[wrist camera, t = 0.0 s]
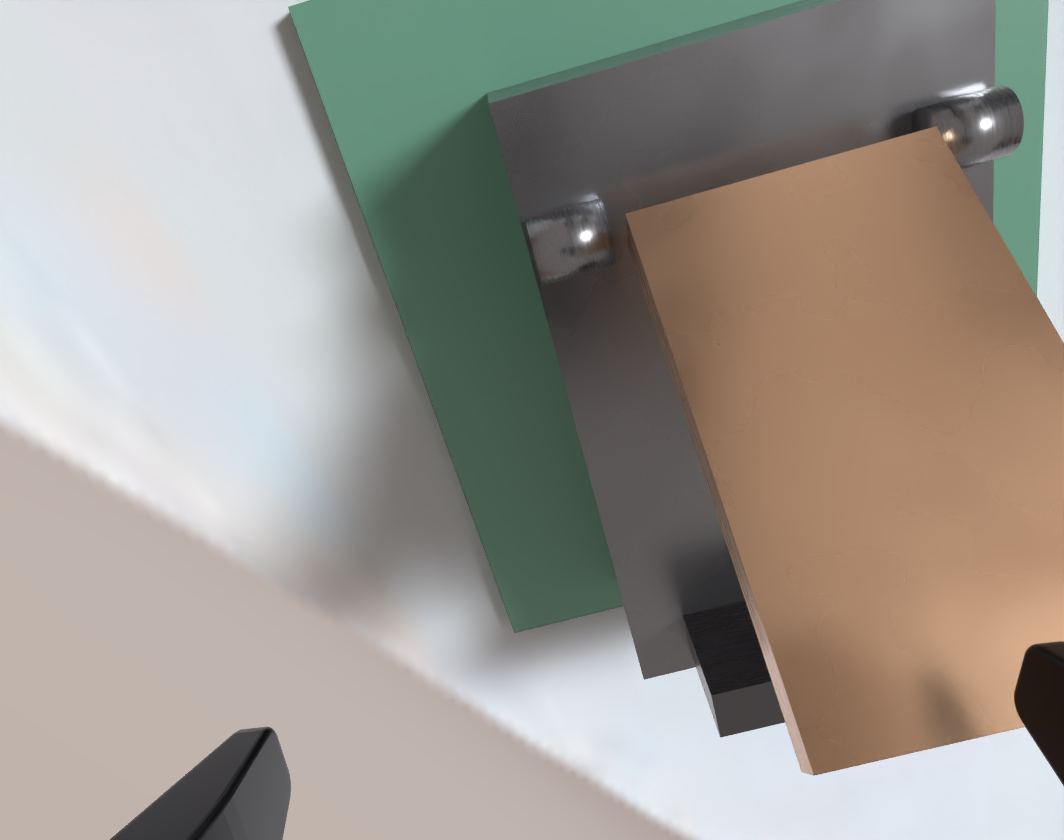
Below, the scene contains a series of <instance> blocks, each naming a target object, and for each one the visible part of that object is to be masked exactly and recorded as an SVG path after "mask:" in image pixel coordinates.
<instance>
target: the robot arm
mask: <svg viewBox="0 0 1064 840" xmlns="http://www.w3.org/2000/svg"><path fill="white" fill-rule="evenodd" d="M1014 703H1015V707H1016V711H1017V713H1018V715H1019V717H1020V719H1021V721H1022V723H1023V724H1024V726H1025V727H1026V729H1027V730H1028V732H1029V733H1030V735H1031V736H1032V738H1033V739H1034V741H1035V743H1036V744H1037V746H1038V747H1039V749H1040V750H1041V752H1042V753H1043V755H1044V756H1045V758H1046V759H1047V761H1048V762H1049V764H1050V766H1051V767H1052V769H1053V770H1054V772H1055V773H1056V775H1057V776H1058V778H1059V779H1060V781H1061V782H1062V784H1063V786H1064V642H1063V641H1058V642H1049V643H1039V644H1034V645H1031V646H1030V647H1029V648H1028V649H1027V650H1026V652H1025V654H1024V658H1023V662H1022V665H1021V669H1020V673H1019V676H1018V680H1017V684H1016V687H1015V691H1014ZM290 792H291V781H290V774H289V770H288V767H287V764H286V761H285V758H284V755H283V752H282V749H281V746H280V743H279V740H278V737H277V735H276V733H275V731H274V730H273V729H272V728H270V727H261V728H252V729H243V730H239V731H237V732H236V733H235V734H233V735H232V736H230V737H229V738H228V739H227V740H226V741H225V742H223V743H222V744H221V745H220V746H219V747H218V748H216V749H215V750H214V751H213V752H212V753H211V754H209V755H208V756H207V757H206V758H205V759H204V760H202V761H201V762H200V763H199V764H198V765H197V766H195V767H194V768H193V769H192V770H191V771H190V772H188V773H187V774H186V775H185V776H184V777H183V778H181V779H180V780H179V781H178V782H177V783H176V784H174V785H173V786H172V787H171V788H170V789H169V790H168V791H166V792H165V793H164V794H163V795H161V796H160V797H159V798H158V799H157V800H156V801H155V802H153V803H152V804H151V805H150V806H149V807H148V808H146V809H145V810H144V811H143V812H142V813H141V814H139V815H138V816H137V817H136V818H135V819H133V820H132V821H131V822H130V823H129V824H128V825H126V826H125V827H124V828H123V829H122V830H120V831H119V832H118V833H117V834H116V835H115V836H113V837H112V838H111V839H110V840H282V838H283V833H284V828H285V822H286V817H287V811H288V806H289V801H290Z"/></svg>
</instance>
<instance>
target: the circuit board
mask: <svg viewBox="0 0 1064 840" xmlns="http://www.w3.org/2000/svg"><path fill="white" fill-rule="evenodd" d="M797 1H801V0H310V1H306V2H303V3H300V4H296V5H293V6H290V7H288V8H289V11H290V14H291V16H292V19H293V22H294V25H295V28H296V30H297V33H298V36H299V39H300V41H301V44H302V47H303V50H304V52H305V55H306V58H307V61H308V63H309V66H310V69H311V72H312V74H313V77H314V80H315V83H316V86H317V88H318V91H319V94H320V97H321V99H322V102H323V105H324V108H325V110H326V113H327V116H328V119H329V121H330V124H331V127H332V130H333V132H334V135H335V138H336V141H337V144H338V146H339V149H340V152H341V155H342V157H343V160H344V163H345V166H346V168H347V171H348V174H349V177H350V179H351V182H352V185H353V188H354V190H355V193H356V196H357V199H358V202H359V204H360V207H361V210H362V213H363V215H364V218H365V221H366V224H367V226H368V229H369V232H370V235H371V237H372V240H373V243H374V246H375V248H376V251H377V254H378V257H379V260H380V262H381V265H382V268H383V271H384V273H385V276H386V279H387V282H388V284H389V287H390V290H391V293H392V295H393V298H394V301H395V304H396V306H397V309H398V312H399V315H400V318H401V320H402V323H403V326H404V329H405V331H406V334H407V337H408V340H409V342H410V345H411V348H412V351H413V353H414V356H415V359H416V362H417V364H418V367H419V370H420V373H421V376H422V378H423V381H424V384H425V387H426V389H427V392H428V395H429V398H430V400H431V403H432V406H433V409H434V411H435V414H436V417H437V420H438V422H439V425H440V428H441V431H442V434H443V436H444V439H445V442H446V445H447V447H448V450H449V453H450V456H451V458H452V461H453V464H454V467H455V469H456V472H457V475H458V478H459V481H460V483H461V486H462V489H463V492H464V494H465V497H466V500H467V503H468V505H469V508H470V511H471V514H472V516H473V519H474V522H475V525H476V527H477V530H478V533H479V536H480V539H481V541H482V544H483V547H484V550H485V552H486V555H487V558H488V561H489V563H490V566H491V569H492V572H493V574H494V577H495V580H496V583H497V585H498V588H499V591H500V594H501V597H502V599H503V602H504V605H505V608H506V610H507V613H508V616H509V619H510V621H511V624H512V627H513V630H514V632H515V633H517V632H521V631H525V630H529V629H533V628H537V627H541V626H545V625H549V624H553V623H557V622H561V621H565V620H569V619H573V618H577V617H581V616H585V615H589V614H593V613H597V612H601V611H605V610H609V609H613V608H617V607H621V606H624V604H623V600H622V596H621V592H620V589H619V585H618V581H617V578H616V574H615V570H614V566H613V563H612V559H611V555H610V552H609V548H608V544H607V541H606V537H605V533H604V529H603V526H602V522H601V518H600V515H599V511H598V507H597V503H596V500H595V496H594V492H593V489H592V485H591V481H590V478H589V474H588V470H587V466H586V463H585V459H584V455H583V452H582V448H581V444H580V441H579V437H578V433H577V429H576V426H575V422H574V418H573V415H572V411H571V407H570V403H569V400H568V396H567V392H566V389H565V385H564V381H563V378H562V374H561V370H560V366H559V363H558V359H557V355H556V352H555V348H554V344H553V340H552V337H551V333H550V329H549V326H548V322H547V318H546V315H545V311H544V307H543V303H542V300H541V296H540V292H539V289H538V285H537V281H536V277H535V274H534V270H533V266H532V263H531V259H530V255H529V252H528V248H527V244H526V240H525V237H524V233H523V229H522V226H521V222H520V218H519V214H518V211H517V207H516V203H515V200H514V196H513V192H512V189H511V185H510V181H509V177H508V174H507V170H506V166H505V163H504V159H503V155H502V151H501V148H500V144H499V140H498V137H497V133H496V129H495V126H494V122H493V118H492V114H491V111H490V107H489V103H488V95H487V93H489V92H492V91H495V90H499V89H502V88H506V87H509V86H512V85H516V84H519V83H523V82H526V81H529V80H533V79H536V78H540V77H543V76H546V75H550V74H553V73H557V72H560V71H563V70H567V69H570V68H573V67H577V66H580V65H584V64H587V63H590V62H594V61H597V60H601V59H604V58H607V57H611V56H614V55H618V54H621V53H624V52H628V51H631V50H635V49H638V48H641V47H645V46H648V45H652V44H655V43H658V42H662V41H665V40H669V39H672V38H675V37H679V36H682V35H685V34H689V33H692V32H696V31H699V30H702V29H706V28H709V27H713V26H716V25H719V24H723V23H726V22H730V21H733V20H736V19H740V18H743V17H747V16H750V15H753V14H757V13H760V12H764V11H767V10H770V9H774V8H777V7H780V6H784V5H787V4H791V3H794V2H797ZM1047 24H1048V0H996V28H995V86H999V85H1004V86H1007V87H1009V88H1010V89H1012V90H1013V91H1014V93H1015V94H1016V95H1017V97H1018V99H1019V101H1020V103H1021V106H1022V110H1023V116H1024V130H1023V136H1022V139H1021V142H1020V144H1019V147H1018V148H1017V150H1016V151H1015V152H1014V153H1013V154H1012V155H1010V156H1008V157H1004V158H1001V159H997V160H994V196H993V224H994V225H995V227H996V229H997V230H998V232H999V234H1000V235H1001V237H1002V239H1003V241H1004V242H1005V244H1006V246H1007V247H1008V249H1009V251H1010V253H1011V254H1012V256H1013V258H1014V259H1015V261H1016V263H1017V264H1018V266H1019V268H1020V270H1021V271H1022V273H1023V275H1024V276H1025V278H1026V280H1027V281H1028V283H1029V285H1030V287H1031V288H1032V290H1033V292H1034V293H1035V295H1036V297H1037V276H1038V251H1039V226H1040V201H1041V175H1042V150H1043V125H1044V100H1045V74H1046V49H1047Z"/></svg>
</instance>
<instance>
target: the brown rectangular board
mask: <svg viewBox="0 0 1064 840" xmlns="http://www.w3.org/2000/svg"><path fill="white" fill-rule="evenodd" d="M625 215H626V229H627V243H628V247H629V250H630V253H631V256H632V259H633V262H634V265H635V268H636V271H637V274H638V277H639V280H640V283H641V286H642V289H643V292H644V296H645V299H646V302H647V305H648V308H649V311H650V314H651V317H652V320H653V323H654V326H655V329H656V332H657V335H658V338H659V341H660V344H661V347H662V350H663V353H664V356H665V359H666V362H667V365H668V368H669V371H670V374H671V377H672V380H673V383H674V386H675V389H676V392H677V395H678V399H679V402H680V405H681V408H682V411H683V414H684V417H685V420H686V423H687V426H688V429H689V432H690V435H691V438H692V441H693V444H694V447H695V450H696V453H697V456H698V459H699V462H700V465H701V468H702V471H703V474H704V477H705V480H706V483H707V486H708V489H709V492H710V495H711V498H712V502H713V505H714V508H715V511H716V514H717V517H718V520H719V523H720V526H721V529H722V532H723V535H724V538H725V541H726V544H727V547H728V550H729V553H730V556H731V559H732V562H733V565H734V568H735V571H736V574H737V577H738V580H739V583H740V586H741V589H742V592H743V595H744V598H745V601H746V605H747V608H748V611H749V614H750V617H751V620H752V623H753V626H754V629H755V632H756V635H757V638H758V641H759V644H760V647H761V650H762V653H763V656H764V659H765V662H766V665H767V668H768V671H769V674H770V677H771V680H772V683H773V686H774V689H775V692H776V695H777V698H778V701H779V704H780V708H781V711H782V714H783V717H784V720H785V723H786V726H787V729H788V732H789V735H790V738H791V741H792V744H793V747H794V750H795V753H796V756H797V759H798V762H799V765H800V768H801V771H802V772H804V773H807V774H811V775H818V774H823V773H827V772H831V771H836V770H840V769H844V768H849V767H853V766H857V765H862V764H866V763H870V762H875V761H879V760H883V759H888V758H892V757H896V756H901V755H905V754H909V753H914V752H918V751H922V750H927V749H931V748H935V747H940V746H944V745H948V744H953V743H957V742H961V741H966V740H970V739H974V738H979V737H983V736H987V735H992V734H996V733H1001V732H1005V731H1009V730H1014V729H1018V728H1022V727H1025V726H1024V724H1023V723H1022V721H1021V719H1020V717H1019V715H1018V713H1017V711H1016V707H1015V703H1014V691H1015V687H1016V684H1017V680H1018V676H1019V673H1020V669H1021V665H1022V662H1023V658H1024V654H1025V652H1026V650H1027V649H1028V648H1029V647H1030V646H1031V645H1034V644H1039V643H1049V642H1058V641H1063V642H1064V343H1063V341H1062V339H1061V338H1060V336H1059V334H1058V333H1057V331H1056V329H1055V327H1054V326H1053V324H1052V322H1051V321H1050V319H1049V317H1048V316H1047V314H1046V312H1045V310H1044V309H1043V307H1042V305H1041V304H1040V302H1039V300H1038V299H1037V297H1036V295H1035V293H1034V292H1033V290H1032V288H1031V287H1030V285H1029V283H1028V281H1027V280H1026V278H1025V276H1024V275H1023V273H1022V271H1021V270H1020V268H1019V266H1018V264H1017V263H1016V261H1015V259H1014V258H1013V256H1012V254H1011V253H1010V251H1009V249H1008V247H1007V246H1006V244H1005V242H1004V241H1003V239H1002V237H1001V235H1000V234H999V232H998V230H997V229H996V227H995V225H994V224H993V222H992V220H991V218H990V217H989V215H988V213H987V212H986V210H985V208H984V206H983V205H982V203H981V201H980V200H979V198H978V196H977V195H976V193H975V191H974V189H973V188H972V186H971V184H970V183H969V181H968V179H967V178H966V176H965V174H964V172H963V171H962V169H961V167H960V166H959V164H958V162H957V160H956V159H955V157H954V155H953V154H952V152H951V150H950V149H949V147H948V145H947V143H946V142H945V140H944V138H943V137H942V135H941V133H940V131H939V130H938V128H937V126H936V127H932V128H928V129H925V130H921V131H918V132H914V133H911V134H907V135H904V136H900V137H896V138H893V139H889V140H886V141H882V142H879V143H875V144H872V145H868V146H864V147H861V148H857V149H854V150H850V151H847V152H843V153H840V154H836V155H832V156H829V157H825V158H822V159H818V160H815V161H811V162H808V163H804V164H800V165H797V166H793V167H790V168H786V169H783V170H779V171H776V172H772V173H768V174H765V175H761V176H758V177H754V178H751V179H747V180H743V181H740V182H736V183H733V184H729V185H726V186H722V187H719V188H715V189H711V190H708V191H704V192H701V193H697V194H694V195H690V196H687V197H683V198H679V199H676V200H672V201H669V202H665V203H662V204H658V205H655V206H651V207H647V208H644V209H640V210H637V211H633V212H630V213H626V214H625Z"/></svg>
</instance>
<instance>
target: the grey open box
mask: <svg viewBox="0 0 1064 840" xmlns="http://www.w3.org/2000/svg"><path fill="white" fill-rule="evenodd" d="M995 28H996V0H801V1H797V2H794V3H791V4H787V5H784V6H780V7H777V8H774V9H770V10H767V11H764V12H760V13H757V14H753V15H750V16H747V17H743V18H740V19H736V20H733V21H730V22H726V23H723V24H719V25H716V26H713V27H709V28H706V29H702V30H699V31H696V32H692V33H689V34H685V35H682V36H679V37H675V38H672V39H669V40H665V41H662V42H658V43H655V44H652V45H648V46H645V47H641V48H638V49H635V50H631V51H628V52H624V53H621V54H618V55H614V56H611V57H607V58H604V59H601V60H597V61H594V62H590V63H587V64H584V65H580V66H577V67H573V68H570V69H567V70H563V71H560V72H557V73H553V74H550V75H546V76H543V77H540V78H536V79H533V80H529V81H526V82H523V83H519V84H516V85H512V86H509V87H506V88H502V89H499V90H495V91H492V92H489V93H487V95H488V103H489V107H490V111H491V114H492V118H493V122H494V126H495V129H496V133H497V137H498V140H499V144H500V148H501V151H502V155H503V159H504V163H505V166H506V170H507V174H508V177H509V181H510V185H511V189H512V192H513V196H514V200H515V203H516V207H517V211H518V214H519V218H520V222H521V226H522V229H523V233H524V237H525V240H526V244H527V248H528V252H529V255H530V259H531V263H532V266H533V270H534V274H535V277H536V281H537V285H538V289H539V292H540V296H541V300H542V303H543V307H544V311H545V315H546V318H547V322H548V326H549V329H550V333H551V337H552V340H553V344H554V348H555V352H556V355H557V359H558V363H559V366H560V370H561V374H562V378H563V381H564V385H565V389H566V392H567V396H568V400H569V403H570V407H571V411H572V415H573V418H574V422H575V426H576V429H577V433H578V437H579V441H580V444H581V448H582V452H583V455H584V459H585V463H586V466H587V470H588V474H589V478H590V481H591V485H592V489H593V492H594V496H595V500H596V503H597V507H598V511H599V515H600V518H601V522H602V526H603V529H604V533H605V537H606V541H607V544H608V548H609V552H610V555H611V559H612V563H613V566H614V570H615V574H616V578H617V581H618V585H619V589H620V592H621V596H622V600H623V604H624V607H625V611H626V615H627V618H628V622H629V626H630V629H631V633H632V637H633V641H634V644H635V648H636V652H637V655H638V659H639V663H640V667H641V670H642V674H643V678H644V679H648V678H652V677H656V676H660V675H664V674H669V673H673V672H677V671H681V670H685V669H689V668H693V667H696V669H697V672H698V674H699V677H700V680H701V683H702V686H703V689H704V692H705V695H706V697H707V700H708V703H709V706H710V709H711V712H712V715H713V718H714V720H715V723H716V726H717V729H718V732H719V735H720V737H724V736H728V735H733V734H737V733H741V732H745V731H750V730H754V729H758V728H762V727H767V726H771V725H775V724H779V723H784V722H785V720H784V717H783V714H782V711H781V708H780V704H779V701H778V698H777V695H776V692H775V689H774V686H773V683H772V680H771V677H770V674H769V671H768V668H767V665H766V662H765V659H764V656H763V653H762V650H761V647H760V644H759V641H758V638H757V635H756V632H755V629H754V626H753V623H752V620H751V617H750V614H749V611H748V608H747V605H746V601H745V598H744V595H743V592H742V589H741V586H740V583H739V580H738V577H737V574H736V571H735V568H734V565H733V562H732V559H731V556H730V553H729V550H728V547H727V544H726V541H725V538H724V535H723V532H722V529H721V526H720V523H719V520H718V517H717V514H716V511H715V508H714V505H713V502H712V498H711V495H710V492H709V489H708V486H707V483H706V480H705V477H704V474H703V471H702V468H701V465H700V462H699V459H698V456H697V453H696V450H695V447H694V444H693V441H692V438H691V435H690V432H689V429H688V426H687V423H686V420H685V417H684V414H683V411H682V408H681V405H680V402H679V399H678V395H677V392H676V389H675V386H674V383H673V380H672V377H671V374H670V371H669V368H668V365H667V362H666V359H665V356H664V353H663V350H662V347H661V344H660V341H659V338H658V335H657V332H656V329H655V326H654V323H653V320H652V317H651V314H650V311H649V308H648V305H647V302H646V299H645V296H644V292H643V289H642V286H641V283H640V280H639V277H638V274H637V271H636V268H635V265H634V262H633V259H632V256H631V253H630V250H629V247H628V243H627V229H626V215H625V214H626V213H630V212H633V211H637V210H640V209H644V208H647V207H651V206H655V205H658V204H662V203H665V202H669V201H672V200H676V199H679V198H683V197H687V196H690V195H694V194H697V193H701V192H704V191H708V190H711V189H715V188H719V187H722V186H726V185H729V184H733V183H736V182H740V181H743V180H747V179H751V178H754V177H758V176H761V175H765V174H768V173H772V172H776V171H779V170H783V169H786V168H790V167H793V166H797V165H800V164H804V163H808V162H811V161H815V160H818V159H822V158H825V157H829V156H832V155H836V154H840V153H843V152H847V151H850V150H854V149H857V148H861V147H864V146H868V145H872V144H875V143H879V142H882V141H886V140H889V139H893V138H896V137H900V136H904V135H907V134H911V133H914V132H918V131H921V130H925V129H928V128H932V127H936V126H937V128H938V130H939V131H940V133H941V135H942V137H943V138H944V140H945V142H946V143H947V145H948V147H949V149H950V150H951V152H952V154H953V155H954V157H955V159H956V160H957V162H958V164H959V166H960V167H961V169H962V171H963V172H964V174H965V176H966V178H967V179H968V181H969V183H970V184H971V186H972V188H973V189H974V191H975V193H976V195H977V196H978V198H979V200H980V201H981V203H982V205H983V206H984V208H985V210H986V212H987V213H988V215H989V217H990V218H991V220H992V222H993V196H994V160H997V159H1001V158H1004V157H1008V156H1010V155H1012V154H1013V153H1014V152H1015V151H1016V150H1017V148H1018V147H1019V144H1020V142H1021V139H1022V136H1023V130H1024V116H1023V110H1022V106H1021V103H1020V101H1019V99H1018V97H1017V95H1016V94H1015V93H1014V91H1013V90H1012V89H1010V88H1009V87H1007V86H1004V85H999V86H995Z"/></svg>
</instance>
